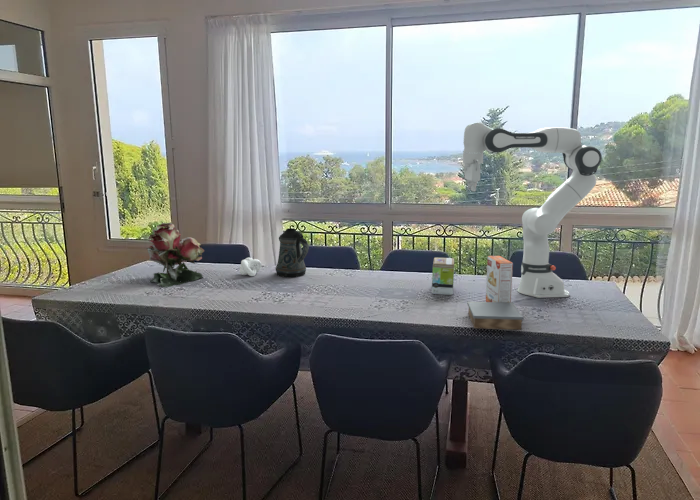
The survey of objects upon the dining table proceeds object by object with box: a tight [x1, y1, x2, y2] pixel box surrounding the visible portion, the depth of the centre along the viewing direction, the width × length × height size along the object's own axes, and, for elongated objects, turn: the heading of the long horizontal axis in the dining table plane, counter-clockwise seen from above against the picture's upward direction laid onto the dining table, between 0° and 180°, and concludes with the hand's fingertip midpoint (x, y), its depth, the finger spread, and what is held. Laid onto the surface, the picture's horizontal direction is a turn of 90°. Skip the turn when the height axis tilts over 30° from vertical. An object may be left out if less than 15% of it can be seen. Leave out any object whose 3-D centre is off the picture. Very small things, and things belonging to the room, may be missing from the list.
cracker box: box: [485, 255, 514, 303], centre depth 208 cm, size 14×6×21 cm, turn 5°
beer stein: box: [275, 227, 310, 279], centre depth 266 cm, size 16×19×25 cm
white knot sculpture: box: [239, 257, 262, 277], centre depth 267 cm, size 11×12×9 cm
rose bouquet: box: [146, 222, 205, 288], centre depth 257 cm, size 26×29×30 cm
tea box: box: [431, 257, 455, 296], centre depth 234 cm, size 15×10×15 cm, turn 168°
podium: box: [467, 301, 525, 330], centre depth 191 cm, size 18×18×5 cm
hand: (471, 190), depth 224 cm, fingers open, 8 cm apart
